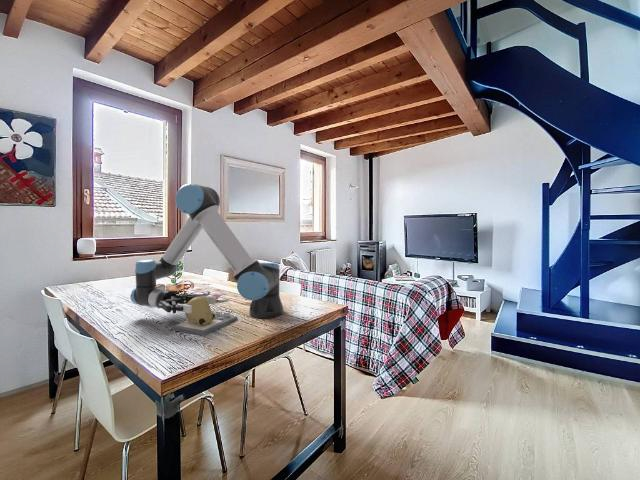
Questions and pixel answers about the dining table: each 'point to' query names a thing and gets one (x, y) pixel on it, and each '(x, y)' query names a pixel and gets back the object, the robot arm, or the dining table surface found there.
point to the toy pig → (200, 311)
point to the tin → (160, 286)
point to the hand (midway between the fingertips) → (204, 304)
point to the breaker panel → (205, 329)
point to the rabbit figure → (216, 294)
